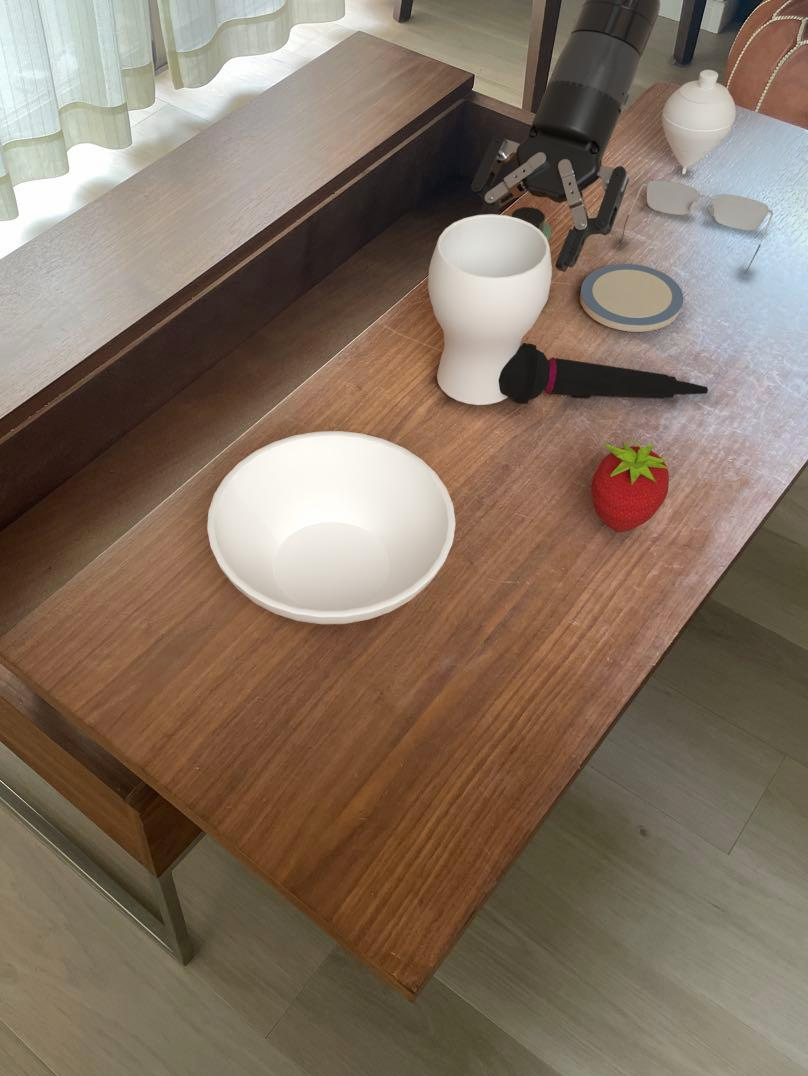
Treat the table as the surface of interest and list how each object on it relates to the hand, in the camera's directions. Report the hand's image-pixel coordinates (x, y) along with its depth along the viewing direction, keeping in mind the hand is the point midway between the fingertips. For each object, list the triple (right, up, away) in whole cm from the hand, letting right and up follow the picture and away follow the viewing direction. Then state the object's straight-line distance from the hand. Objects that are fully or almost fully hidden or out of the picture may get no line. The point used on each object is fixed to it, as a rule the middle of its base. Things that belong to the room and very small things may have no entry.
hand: (519, 256), depth 108 cm
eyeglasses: (+21, +4, +10) cm, 24 cm away
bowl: (-20, -31, -17) cm, 40 cm away
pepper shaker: (+1, -3, +6) cm, 6 cm away
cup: (-5, -13, -3) cm, 14 cm away
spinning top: (+23, +14, +19) cm, 33 cm away
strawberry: (+5, -27, -15) cm, 31 cm away
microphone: (+6, -15, -5) cm, 17 cm away
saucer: (+12, -4, +4) cm, 13 cm away
